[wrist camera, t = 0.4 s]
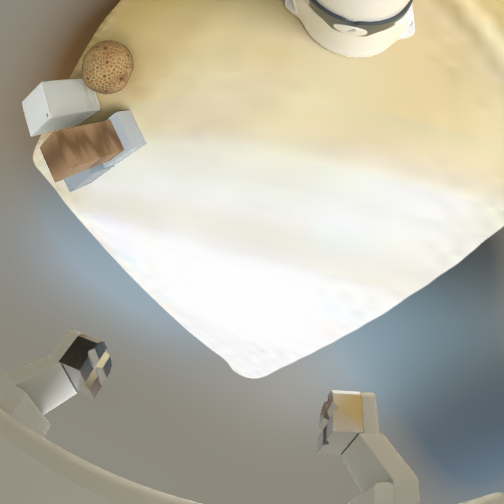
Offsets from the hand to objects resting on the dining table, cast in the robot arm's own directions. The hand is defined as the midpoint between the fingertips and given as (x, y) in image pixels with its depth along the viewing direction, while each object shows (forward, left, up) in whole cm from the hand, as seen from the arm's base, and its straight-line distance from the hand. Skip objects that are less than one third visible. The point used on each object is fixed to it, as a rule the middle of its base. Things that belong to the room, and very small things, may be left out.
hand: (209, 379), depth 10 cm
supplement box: (-6, -42, -39) cm, 58 cm away
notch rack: (+3, -35, -39) cm, 53 cm away
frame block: (0, -32, -35) cm, 47 cm away
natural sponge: (-12, -32, -39) cm, 52 cm away
